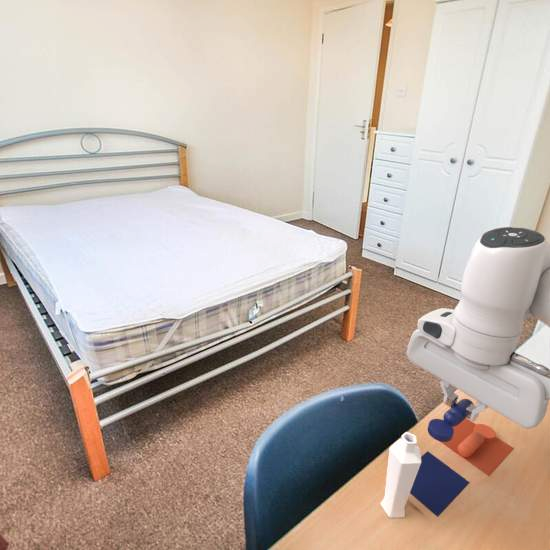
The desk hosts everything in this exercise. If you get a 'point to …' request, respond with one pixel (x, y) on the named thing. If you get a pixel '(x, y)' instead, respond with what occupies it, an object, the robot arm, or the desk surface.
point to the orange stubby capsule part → (476, 440)
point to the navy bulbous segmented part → (448, 421)
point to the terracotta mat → (480, 448)
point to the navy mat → (436, 484)
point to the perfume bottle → (401, 474)
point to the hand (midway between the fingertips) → (459, 410)
